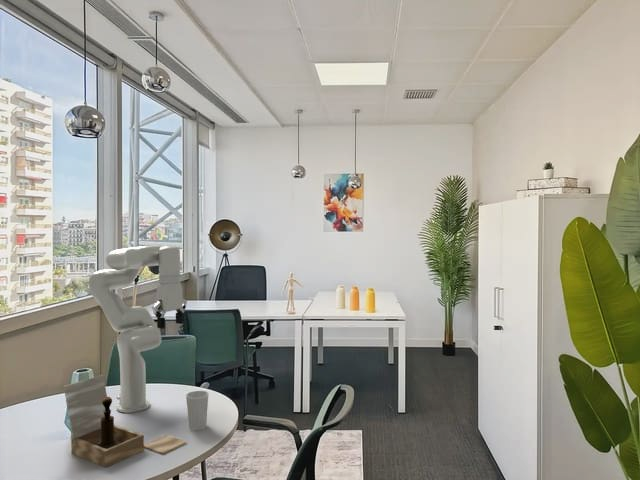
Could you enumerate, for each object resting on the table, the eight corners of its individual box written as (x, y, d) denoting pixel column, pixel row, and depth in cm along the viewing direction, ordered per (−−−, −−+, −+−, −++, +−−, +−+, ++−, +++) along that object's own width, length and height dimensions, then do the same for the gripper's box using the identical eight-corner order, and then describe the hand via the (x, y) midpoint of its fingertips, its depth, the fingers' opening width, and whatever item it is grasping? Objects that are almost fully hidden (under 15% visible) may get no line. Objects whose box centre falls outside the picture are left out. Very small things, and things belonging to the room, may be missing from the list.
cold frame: (64, 450, 168) (63, 385, 167) (102, 435, 180) (101, 374, 179) (106, 467, 157) (104, 397, 156) (143, 449, 169) (143, 385, 168)
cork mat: (142, 447, 170) (142, 445, 170) (166, 436, 179) (166, 434, 179) (163, 454, 165) (162, 452, 165) (186, 443, 174) (186, 441, 174)
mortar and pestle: (101, 447, 170) (100, 393, 170) (121, 446, 171) (120, 393, 170) (94, 456, 164) (93, 401, 163) (115, 455, 164) (114, 400, 164)
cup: (203, 432, 183) (202, 398, 182) (182, 430, 184) (182, 397, 184) (212, 423, 191) (212, 391, 190) (192, 421, 192) (192, 390, 192)
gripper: (178, 277, 200) (178, 320, 200) (144, 282, 184) (145, 329, 185) (193, 278, 196) (193, 322, 197) (160, 283, 181) (161, 331, 181)
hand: (170, 325), depth 191 cm, fingers open, 9 cm apart
